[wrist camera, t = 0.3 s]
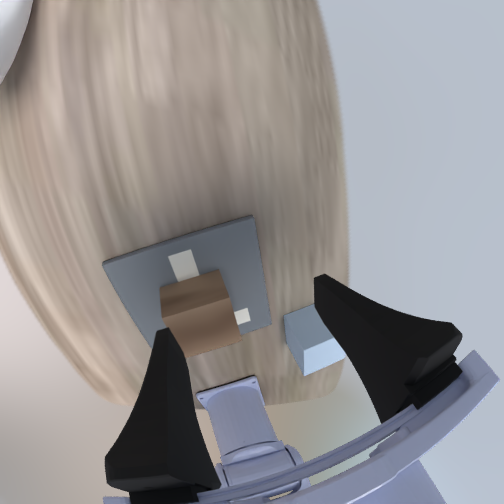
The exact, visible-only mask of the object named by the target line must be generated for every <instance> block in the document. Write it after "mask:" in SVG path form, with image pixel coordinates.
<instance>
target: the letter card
mask: <svg viewBox="0 0 504 504" xmlns="http://www.w3.org/2000/svg"><path fill="white" fill-rule="evenodd" d="M102 266H103V268H104V270H105V272H106V274H107V276H108V278H109V280H110V281H111V283H112V285H113V287H114V289H115V291H116V292H117V294H118V296H119V298H120V299H121V301H122V303H123V304H124V306H125V308H126V309H127V311H128V313H129V314H130V316H131V318H132V319H133V321H134V322H135V324H136V326H137V327H138V329H139V330H140V332H141V333H142V335H143V336H144V338H145V339H146V341H147V342H148V344H149V345H150V347H151V348H153V344H154V339H155V334H156V331H158V330H161V329H164V328H167V327H166V325H165V324H164V322H163V320H162V316H161V304H160V290H159V288H160V287H164V286H167V285H170V284H173V283H177V282H180V281H183V280H186V279H189V278H193V277H196V276H199V275H202V274H205V273H209V272H212V271H215V270H218V269H219V271H220V273H221V276H222V279H223V281H224V284H225V287H226V289H227V292H228V295H229V297H230V301H231V304H232V307H233V311H234V314H235V318H236V321H237V324H238V328H239V331H240V334H241V335H242V334H245V333H248V332H251V331H254V330H257V329H259V328H262V327H265V326H268V325H271V324H272V322H271V316H270V310H269V304H268V297H267V291H266V285H265V279H264V273H263V267H262V261H261V255H260V249H259V243H258V238H257V232H256V226H255V220H254V217H253V216H252V215H251V216H247V217H244V218H240V219H237V220H233V221H230V222H226V223H223V224H220V225H216V226H213V227H210V228H206V229H203V230H200V231H197V232H193V233H190V234H187V235H184V236H180V237H177V238H174V239H171V240H168V241H165V242H161V243H158V244H155V245H152V246H149V247H146V248H143V249H140V250H137V251H134V252H131V253H128V254H125V255H122V256H119V257H116V258H113V259H110V260H107V261H104V262H103V264H102Z"/></svg>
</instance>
